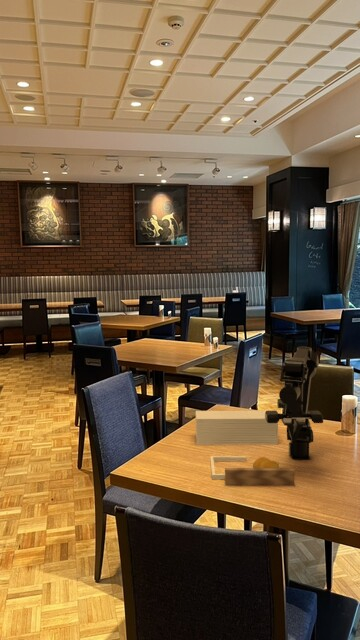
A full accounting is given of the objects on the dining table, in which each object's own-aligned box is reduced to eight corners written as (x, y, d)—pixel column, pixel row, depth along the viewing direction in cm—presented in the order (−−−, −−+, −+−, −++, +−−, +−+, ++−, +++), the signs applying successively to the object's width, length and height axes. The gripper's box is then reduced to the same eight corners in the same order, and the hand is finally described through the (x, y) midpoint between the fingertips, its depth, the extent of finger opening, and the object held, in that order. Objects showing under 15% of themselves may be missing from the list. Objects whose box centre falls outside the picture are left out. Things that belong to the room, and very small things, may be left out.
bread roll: (269, 477, 159) (269, 466, 159) (249, 469, 166) (249, 458, 166) (284, 470, 165) (285, 459, 164) (264, 463, 171) (264, 452, 171)
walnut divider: (293, 483, 155) (293, 468, 154) (294, 485, 153) (294, 470, 152) (224, 482, 155) (224, 468, 155) (225, 485, 154) (225, 470, 153)
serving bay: (246, 460, 173) (246, 456, 173) (251, 479, 158) (251, 475, 157) (210, 460, 174) (210, 456, 174) (212, 479, 158) (212, 474, 158)
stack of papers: (196, 445, 189) (196, 418, 188) (195, 436, 200) (195, 410, 199) (277, 445, 189) (278, 418, 188) (272, 435, 200) (272, 410, 199)
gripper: (315, 390, 170) (314, 433, 172) (262, 390, 171) (262, 432, 172) (324, 399, 159) (323, 444, 161) (267, 399, 160) (267, 444, 161)
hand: (293, 441), depth 164 cm, fingers closed
